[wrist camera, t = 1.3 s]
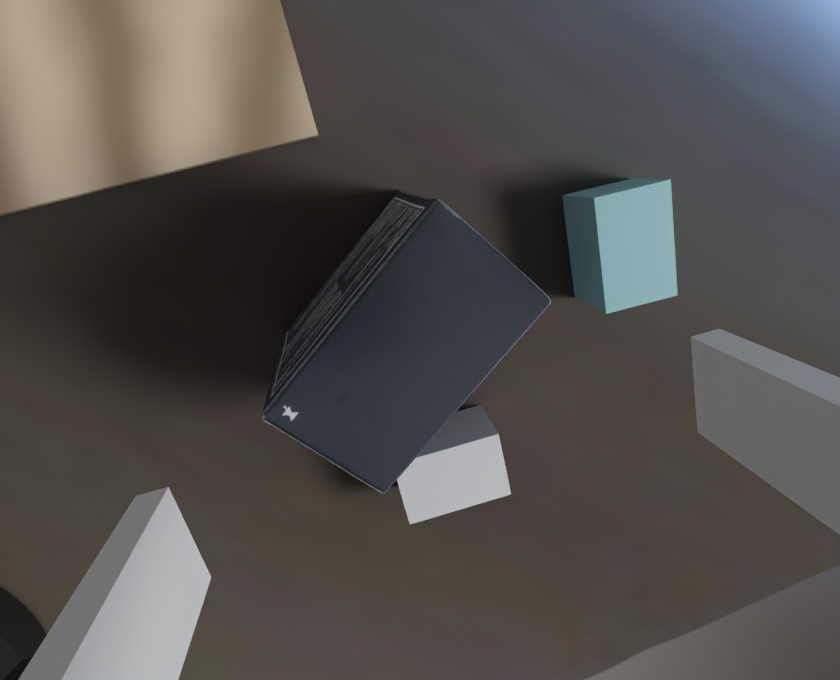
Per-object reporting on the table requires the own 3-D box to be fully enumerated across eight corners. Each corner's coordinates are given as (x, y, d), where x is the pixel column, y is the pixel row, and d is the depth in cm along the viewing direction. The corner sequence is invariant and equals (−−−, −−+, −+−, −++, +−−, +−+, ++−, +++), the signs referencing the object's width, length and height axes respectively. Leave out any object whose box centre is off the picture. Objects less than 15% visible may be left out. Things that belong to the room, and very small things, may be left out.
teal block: (573, 296, 31) (606, 313, 27) (560, 195, 29) (594, 198, 25) (636, 280, 31) (677, 295, 28) (628, 178, 29) (670, 179, 26)
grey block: (401, 484, 33) (409, 524, 29) (386, 430, 32) (392, 464, 28) (491, 458, 34) (511, 494, 30) (479, 404, 32) (498, 433, 29)
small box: (370, 400, 31) (385, 506, 21) (278, 336, 29) (248, 419, 19) (487, 262, 30) (562, 305, 20) (398, 185, 28) (433, 190, 18)
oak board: (-5, 217, 25) (-21, 219, 24) (-181, -135, 21) (-211, -153, 20) (318, 136, 26) (317, 134, 25) (218, -216, 22) (211, -237, 21)
